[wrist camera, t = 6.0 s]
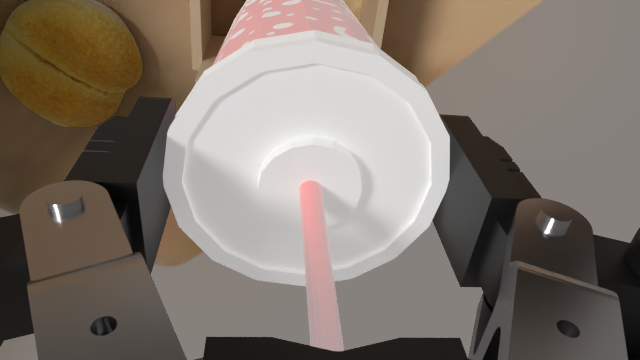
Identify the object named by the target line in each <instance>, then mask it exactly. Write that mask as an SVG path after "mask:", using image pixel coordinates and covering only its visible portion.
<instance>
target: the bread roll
mask: <svg viewBox="0 0 640 360" xmlns="http://www.w3.org/2000/svg"><path fill="white" fill-rule="evenodd" d="M142 70H143V64H142V59H141V55H140V52H139V49H138V47H137V44H136V42H135V40H134V38H133V36H132V34H131V33H130V31H129V29H128V28H127V26H126V25H125V23H124V22H123V20H122V19H121V18H120V17H119V16H118V15H117V14H116V13H115V12H114V11H113V10H111V9H110V8H109V7H107V6H106V5H104V4H102V3H101V2H98V1H96V0H28V1H26V2H24V3H22V4H21V5H19V6H18V7H17V8H15V10H14V11H13V12H12V13H11V15H10V16H9V18H8V19H7V21H6V24H5V27H4V29H3V31H2V33H1V36H0V75H1V78H2V81H3V83H4V85H5V86H6V87H7V88H8V89H9V91H10V92H11V93H12V94H13V95H14V96H15V97H16V98H17V99H18V100H19V101H20V102H21V103H22V104H24V105H25V106H26V107H27V108H28V109H30V110H32V111H34V112H35V113H36V114H39V115H40V116H41V117H43V118H45V119H47V120H49V121H50V122H52V123H54V124H57V125H59V126H64V127H69V126H70V127H90V126H94V125H97V124H99V123H101V122H103V121H105V120H106V119H108V118H109V117H110V116H111V115H113V114H114V113H115V111H116V110H117V109H118V107H119V105H120V103H121V101H122V98H123V95H124V93H125V92H126V90H127V89H130V88H132V87H133V86H134V85H136V84H137V82H138V81H139V79H140V77H141V74H142Z"/></svg>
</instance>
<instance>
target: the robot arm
mask: <svg viewBox="0 0 640 360" xmlns="http://www.w3.org/2000/svg"><path fill="white" fill-rule="evenodd" d="M175 115H176V105H175V101H174V99H172V98H155V97H139V99H138V100H137V102H136V104H135V106H134V108H133V109H132V111H131V113H130V115H129V117H120V116H115V117H113V118H112V119H110V120H109V121H107V122H105V123H104V124H102V125H100V126H99V127H98V129H97V130H96V132H95V133H94V135H93V136H92V138H91V141H89V143H88V144H87V146H86V147H85V149H84V152H82V154H81V155H80V157H79V158H78V160H77V162H76V163H75V165H74V166H73V168H72V169H71V171H70V173H69V174H68V176H67V177H66V179H65V180H64V181H63V182H58V183H53V184H50V185H47V186H44V187H42V188H40V189H38V190H36V191H34V192H33V193H31V194H30V195H28V196H27V197H26V198H25V199H24V200H23V202H22V203H21V206H20V208H19V214H16V215H12V216H7V217H1V218H0V346H1V345H2V343H3V341H4V340H8V339H12V338H16V337H20V336H24V335H29V334H33V333H34V335H35V342H36V348H37V354H38V360H187V359H186V357H185V354H184V352H183V349H182V347H181V345H180V342H179V340H178V338H177V335H176V333H175V331H174V328H173V326H172V323H171V321H170V319H169V317H168V314H167V313H166V309H165V307H164V305H163V303H162V300H161V298H160V296H159V293H158V291H157V288H156V286H155V284H154V281H153V280H152V277H151V271H152V268H153V265H154V262H155V258H156V255H157V251H158V248H159V245H160V241H161V238H162V234H163V231H164V228H165V224H166V221H167V217H168V214H169V210H170V207H171V205H170V202H169V199H168V197H167V194H166V192H165V189H164V185H163V169H164V159H165V150H166V140H167V132H168V130H169V127H170V125H171V124H172V122H173V120H174V119H175ZM439 116H440V118H441V120H442V122H443V124H444V126H445V128H446V130H447V132H448V134H449V136H450V175H449V183H448V186H447V190H446V192H445V195H444V197H443V199H442V201H441V203H440V205H439V207H438V209H437V211H436V213H435V215H434V218H433V223H434V225H435V227H436V230H437V232H438V234H439V237H440V239H441V242H442V244H443V247H444V249H445V251H446V254H447V256H448V259H449V261H450V263H451V266H452V268H453V270H454V273H455V275H456V277H457V280H458V282H459V285H460V287H481V288H482V290H483V295H482V297H481V300H480V302H479V305H478V309H477V314H476V320H475V325H474V331H473V336H472V341H471V347H470V352H469V357H468V358H467V356H466V353H465V350H464V348H463V345H462V342H461V340H460V338H398V339H393V340H389V341H384V342H380V343H376V344H372V345H367V346H363V347H359V348H354V349H350V350H346V351H331V350H327V349H322V348H318V347H313V346H309V345H304V344H300V343H295V342H290V341H286V340H282V339H277V338H273V337H206V343H205V350H204V357H203V358H200V359H195V360H640V228H639V230H638V231H637V233H636V234H635V236H634V238H633V240H632V241H631V243H627V242H623V241H619V240H614V239H610V238H606V237H601V236H597V235H593V231H592V227H591V225H590V223H589V222H588V221H587V219H586V218H585V217H584V216H583V215H581V214H580V213H579V212H577V211H576V210H574V209H572V208H570V207H569V206H567V205H564V204H562V203H559V202H556V201H552V200H549V199H543V198H541V196H540V195H539V194H538V192H537V191H536V190H535V188H534V187H533V186H532V185H531V183H530V182H529V181H528V179H527V178H526V177H525V175H524V174H523V173H522V172H520V169H519V167H518V166H517V165H516V164H515V162H512V158H511V157H510V156H509V154H508V153H507V152H506V150H505V149H504V148H503V147H502V146H500V145H499V144H497V143H495V142H494V141H493V140H492V139H490V138H489V137H485V136H482V134H481V133H480V132H479V130H478V129H477V127H476V126H475V124H474V123H473V122H472V120H471V119H470V118H469V117H468V116H456V115H439Z"/></svg>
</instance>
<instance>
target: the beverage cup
mask: <svg viewBox="0 0 640 360" xmlns="http://www.w3.org/2000/svg"><path fill="white" fill-rule="evenodd" d="M449 175H450V136H449V134H448V132H447V130H446V128H445V126H444V124H443V122H442V120H441V118H440V116H439V114H438V112H437V110H436V108H435V106H434V104H433V102H432V100H431V98H430V96H429V94H428V92H427V90H426V89H425V87H424V86H423V85H422V84H421V83H419V81H418V79H417V77H416V76H415V75H413V74H412V73H411V72H409V71H408V70H407V69H405V68H404V67H403V66H402V65H400V64H399V63H398V62H396V61H395V60H394V59H392V58H391V57H390V56H388V55H387V54H386V53H384V52H383V51H382V50H381V49H380V48H379V47H378V46H377V44H376V43H375V42H374V41H373V39H372V38H371V37H370V35H369V34H368V33H367V31H366V30H365V29H364V27H363V26H362V25H361V23H360V22H359V21H358V19H357V18H356V17H355V16H354V14H353V13H352V12H351V10H350V9H349V8H348V6H347V5H346V4H345V2H344V1H343V0H246V2H245V4H244V5H243V7H242V8H241V10H240V11H239V13H238V14H237V16H236V17H235V19H234V21H233V23H232V26H231V28H230V30H229V32H228V34H227V36H226V38H225V40H224V42H223V44H222V47H221V49H220V51H219V53H218V55H217V57H216V59H215V61H214V63H213V66H211V67H210V68H208V69H207V70H205V71H204V72H203V74H202V75H201V77H200V78H199V80H198V81H197V83H196V85H195V86H194V88H193V89H192V91H191V92H190V94H189V95H188V97H187V98H186V100H185V101H184V103H183V104H182V106H181V108H180V109H179V111H178V112H177V114H176V115H175V119H174V120H173V122H172V124H171V125H170V127H169V130H168V132H167V140H166V150H165V159H164V169H163V185H164V189H165V192H166V194H167V197H168V199H169V202H170V205H171V207H172V210H173V212H174V215H175V217H176V220H177V223H178V225H179V227H180V228H181V229H182V230H183V231H184V232H185V233H186V234H187V235H188V236H189V237H190V238H191V239H192V240H193V241H194V242H195V243H196V244H197V245H198V246H199V247H200V248H201V249H202V250H203V251H204V252H205V253H206V254H207V255H208V256H209V257H210V258H211V259H212V260H213V261H215V262H218V263H220V264H222V265H224V266H226V267H229V268H231V269H233V270H235V271H237V272H239V273H242V274H244V275H246V276H248V277H250V278H252V279H255V280H259V281H266V282H275V283H282V284H290V285H298V286H306V291H307V303H308V317H309V318H308V319H309V332H310V346H313V347H318V348H322V349H327V350H331V351H344V348H343V340H342V333H341V325H340V319H339V311H338V305H337V298H336V290H335V281H341V280H348V279H352V278H355V277H357V276H359V275H361V274H363V273H365V272H367V271H370V270H372V269H374V268H376V267H378V266H380V265H382V264H384V263H387V262H389V261H391V260H393V259H395V258H396V257H397V256H398V255H399V254H400V253H401V252H402V251H404V250H405V249H406V248H407V247H408V246H409V245H410V244H411V243H412V242H413V241H414V240H415V239H416V238H417V237H418V236H419V235H421V234H422V233H423V232H424V231H425V230H426V229H427V228H428V227H429V226H430V224H431V222H432V220H433V218H434V215H435V213H436V211H437V209H438V207H439V205H440V203H441V201H442V199H443V197H444V195H445V192H446V190H447V186H448V183H449Z"/></svg>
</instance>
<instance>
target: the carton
mask: <svg viewBox="0 0 640 360" xmlns="http://www.w3.org/2000/svg"><path fill="white" fill-rule="evenodd" d="M388 3H389V0H363V4H362V11H361V19H360V23H361V25H362V26H363V27H364V29H365V30H366V31H367V33H368V34H369V35H370V37H371V38H372V39H373V41H374V42H375V43H376V44H377V46H378V47H379V48H380V49H381V45H382V39H383V33H384V27H385V21H386V15H387V9H388ZM189 10H190V32H191V53H192V70H199V71H198V74H197V76H196V79H195V85H196V83H197V81H198V80H199V78H200V77H201V75H202V74H203V72H204V71H205V70H207V69H208V68H210V67H211V66H213V63H214V61H215V59H216V57H217V55H218V53H219V51H220V49H221V47H222V44H223V42H224V40H225V38H226V36H218V35H212V29H211V0H189Z"/></svg>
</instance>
